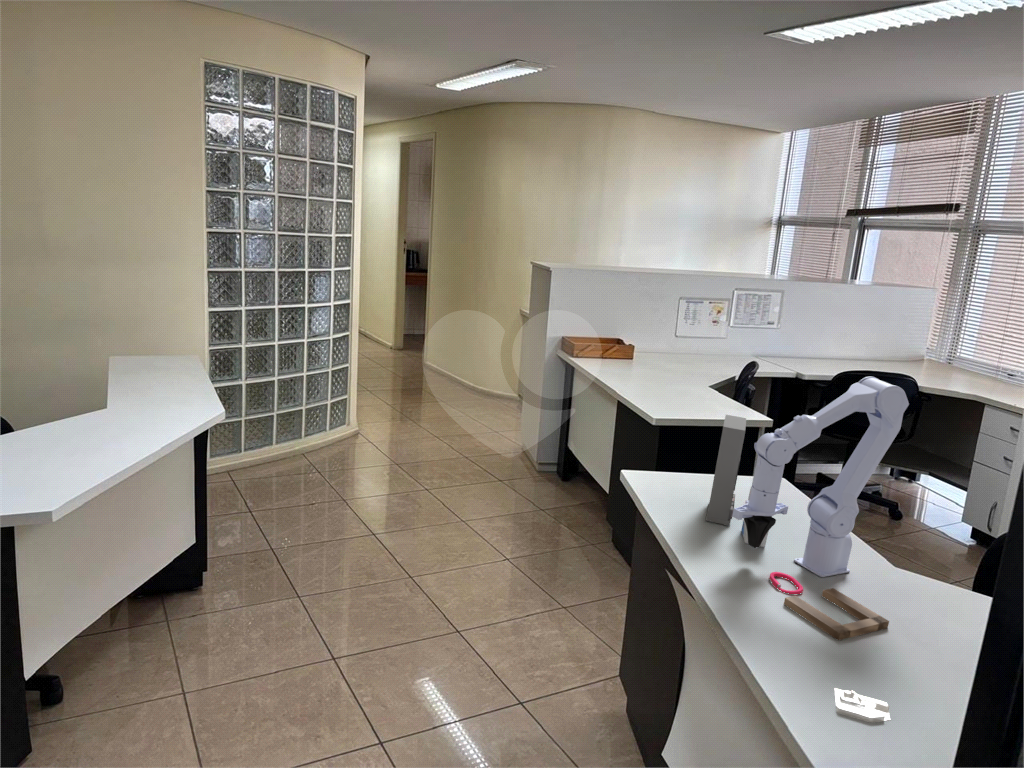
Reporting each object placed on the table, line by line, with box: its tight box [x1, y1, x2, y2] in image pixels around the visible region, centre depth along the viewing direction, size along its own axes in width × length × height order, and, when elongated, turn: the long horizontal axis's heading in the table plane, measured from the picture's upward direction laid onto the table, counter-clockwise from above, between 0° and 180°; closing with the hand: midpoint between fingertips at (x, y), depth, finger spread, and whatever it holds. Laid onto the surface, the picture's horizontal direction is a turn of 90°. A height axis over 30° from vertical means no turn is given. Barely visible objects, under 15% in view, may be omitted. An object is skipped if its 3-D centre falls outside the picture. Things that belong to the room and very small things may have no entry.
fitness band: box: [768, 571, 804, 595], centre depth 152 cm, size 8×6×2 cm
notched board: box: [783, 587, 890, 641], centre depth 141 cm, size 14×13×2 cm
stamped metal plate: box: [833, 687, 892, 723], centre depth 114 cm, size 8×7×2 cm
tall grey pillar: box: [705, 414, 747, 526], centre depth 185 cm, size 14×6×25 cm, turn 161°
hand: (753, 545), depth 160 cm, fingers closed
